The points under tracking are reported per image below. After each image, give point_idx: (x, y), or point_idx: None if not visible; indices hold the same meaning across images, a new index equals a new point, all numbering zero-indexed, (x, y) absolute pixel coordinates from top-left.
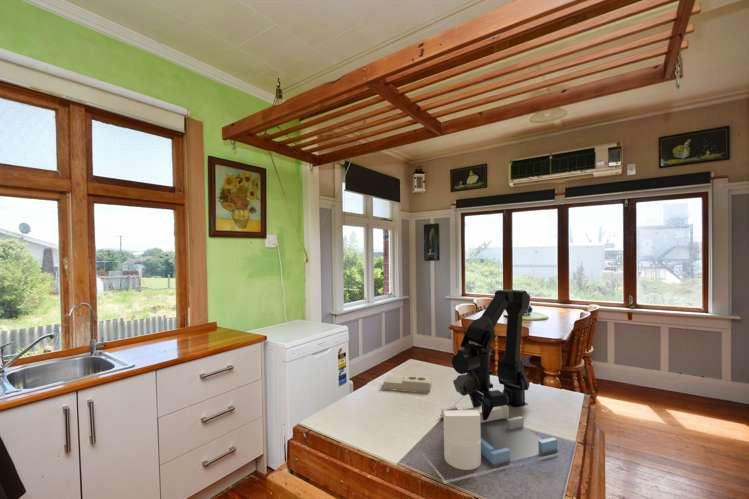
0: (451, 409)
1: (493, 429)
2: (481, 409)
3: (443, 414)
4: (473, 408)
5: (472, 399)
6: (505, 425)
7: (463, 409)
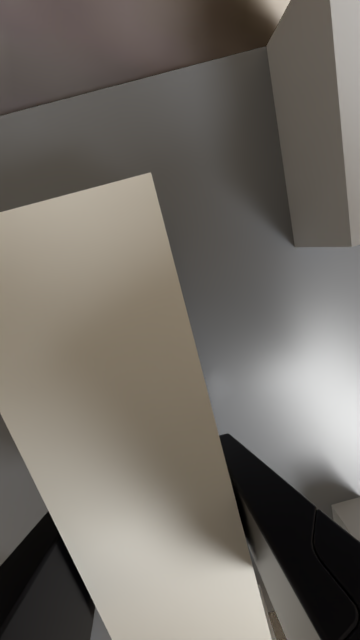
0: (336, 140)
1: (18, 487)
2: (156, 553)
3: (288, 8)
4: (196, 464)
5: (315, 612)
6: None
7: (173, 298)
